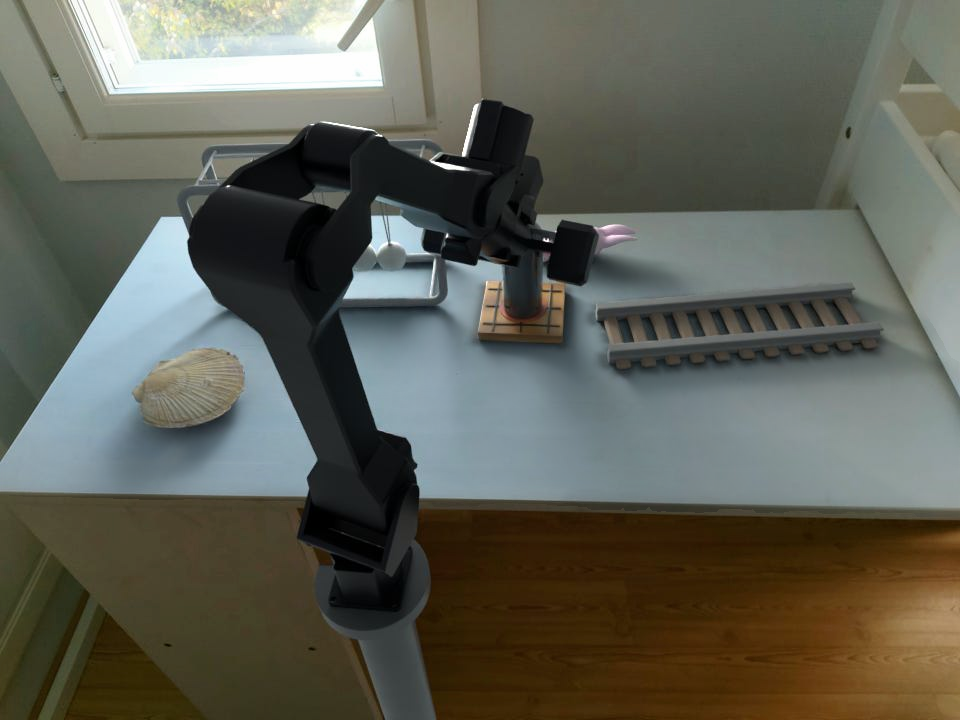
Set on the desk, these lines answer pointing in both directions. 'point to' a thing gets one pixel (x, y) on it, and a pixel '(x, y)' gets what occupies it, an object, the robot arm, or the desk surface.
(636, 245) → the desk surface
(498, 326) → the board
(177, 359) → the seashell
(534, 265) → the dark grey cylinder
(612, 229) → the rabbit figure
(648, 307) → the model train track
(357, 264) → the newton's cradle
